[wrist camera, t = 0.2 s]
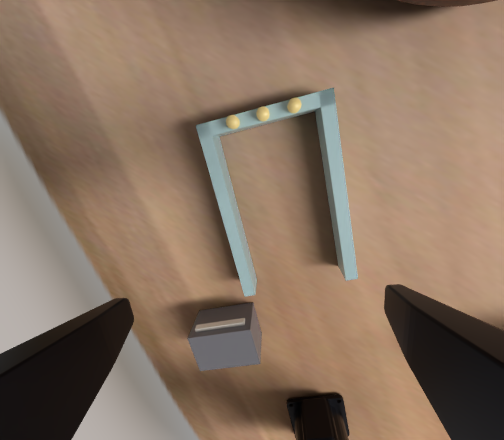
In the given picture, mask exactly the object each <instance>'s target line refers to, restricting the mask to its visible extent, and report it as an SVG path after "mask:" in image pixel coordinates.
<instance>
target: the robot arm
mask: <svg viewBox="0 0 504 440" xmlns="http://www.w3.org/2000/svg"><path fill="white" fill-rule="evenodd" d="M384 310H385V314H386V316H387V318H388V321H389V323H390V325H391V327H392V330H393V332H394V334H395V336H396V339H397V341H398V343H399V346H400V348H401V350H402V352H403V354H404V357H405V359H406V361H407V363H408V364H409V366H410V368H411V370H412V372H413V373H414V375H415V377H416V379H417V380H418V382H419V384H420V386H421V387H422V389H423V391H424V393H425V394H426V396H427V398H428V400H429V401H430V403H431V405H432V407H433V408H434V410H435V412H436V414H437V415H438V417H439V419H440V421H441V423H442V424H443V426H444V428H445V430H446V431H447V433H448V435H449V437H450V438H451V440H504V331H503V330H501V329H499V328H496V327H494V326H492V325H490V324H488V323H485V322H483V321H481V320H479V319H476V318H474V317H472V316H470V315H467V314H465V313H463V312H461V311H458V310H456V309H454V308H452V307H450V306H447V305H445V304H443V303H441V302H438V301H436V300H434V299H432V298H429V297H427V296H425V295H423V294H421V293H418V292H416V291H414V290H412V289H409V288H407V287H405V286H403V285H400V284H396V285H387V286H386V288H385V301H384ZM133 322H134V315H133V312H132V309H131V305H130V302H129V300H128V299H127V298H116V299H113V300H111V301H109V302H107V303H105V304H103V305H101V306H99V307H96V308H94V309H92V310H90V311H88V312H86V313H84V314H82V315H80V316H78V317H76V318H74V319H72V320H70V321H67V322H65V323H63V324H61V325H59V326H57V327H55V328H53V329H51V330H49V331H47V332H45V333H43V334H40V335H39V336H36V337H34V338H32V339H30V340H28V341H26V342H24V343H22V344H20V345H18V346H16V347H14V348H11V349H9V350H7V351H5V352H3V353H1V354H0V440H71V439H72V438H73V436H74V434H75V432H76V431H77V429H78V427H79V425H80V424H81V422H82V420H83V418H84V417H85V415H86V413H87V411H88V410H89V408H90V406H91V404H92V403H93V401H94V399H95V397H96V396H97V394H98V392H99V390H100V389H101V387H102V385H103V383H104V381H105V380H106V378H107V376H108V374H109V372H110V371H111V369H112V367H113V365H114V363H115V361H116V359H117V357H118V355H119V353H120V351H121V349H122V347H123V344H124V342H125V340H126V338H127V336H128V333H129V331H130V329H131V327H132V325H133ZM287 408H288V411H289V415H290V419H291V423H292V426H293V430H294V434H295V438H296V440H349V439H348V436H349V429H348V423H347V418H346V412H345V406H344V401H343V397H342V396H341V395H328V396H317V397H305V398H294V399H288V400H287Z"/></svg>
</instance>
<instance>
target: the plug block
mask: <svg viewBox="0 0 504 440" xmlns="http://www.w3.org/2000/svg"><path fill="white" fill-rule="evenodd" d="M261 338H262V332H261V329H260V325H259V321H258V318H257V314H256V311H255V307H254V303H246V304H239V305H233V306H226V307H220V308H213V309H207V310H200V311H199V313H198V315H197V317H196V320H195V322H194V324H193V327H192V329H191V331H190V334H189V336H188V338H187V339H188V341H189V344H190V346H191V349H192V351H193V354H194V357H195V359H196V362H197V364H198V367H199V369H200V371H205V370H213V369H222V368H230V367H238V366H247V365H255V364H260V359H261Z"/></svg>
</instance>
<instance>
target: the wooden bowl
mask: <svg viewBox="0 0 504 440" xmlns="http://www.w3.org/2000/svg"><path fill="white" fill-rule="evenodd" d="M398 1H401V2H406V3H411V4H415V5H426V6H441V7H445V6H466V5H473V4H480V3H486V2H491V1H496V0H398Z"/></svg>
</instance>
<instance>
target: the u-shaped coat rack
mask: <svg viewBox="0 0 504 440" xmlns="http://www.w3.org/2000/svg"><path fill="white" fill-rule="evenodd" d="M312 112H315V115H316V122H317V128H318V135H319V142H320V148H321V155H322V161H323V168H324V175H325V181H326V188H327V194H328V201H329V208H330V214H331V221H332V228H333V234H334V241H335V247H336V254H337V261H338V267H339V269H340V270H341V272H342V274H343V276H344V278H345V280H346V281H347V280H353V279H358V275H357V267H356V259H355V251H354V244H353V236H352V228H351V220H350V212H349V204H348V196H347V189H346V181H345V173H344V165H343V157H342V149H341V142H340V134H339V126H338V118H337V110H336V102H335V94H334V88H330V89H327V90H323V91H319V92H316V93H312V94H308V95H305V96H301V97H297V98H292V99H290V100H286V101H283V102H279V103H275V104H272V105H268V106H265V107H264V106H262V107H260V108H257V109H254V110H250V111H246V112H243V113H239V114H235V115H229V116H228V117H224V118H221V119H217V120H213V121H210V122H206V123H202V124H199V125H196V128H197V132H198V135H199V139H200V142H201V146H202V149H203V153H204V156H205V160H206V163H207V167H208V170H209V174H210V177H211V181H212V184H213V188H214V191H215V195H216V198H217V202H218V205H219V209H220V212H221V216H222V219H223V222H224V226H225V229H226V233H227V236H228V240H229V243H230V247H231V250H232V254H233V257H234V261H235V264H236V268H237V271H238V275H239V278H240V282H241V285H242V289H243V292H244V296H251V295H255V293H256V285H257V278H256V274H255V270H254V267H253V263H252V259H251V255H250V251H249V248H248V244H247V240H246V236H245V232H244V229H243V225H242V221H241V217H240V213H239V210H238V206H237V202H236V198H235V194H234V191H233V187H232V183H231V179H230V175H229V172H228V168H227V164H226V160H225V156H224V153H223V149H222V145H221V141H220V136H224V135H228V134H232V133H235V132H239V131H243V130H247V129H251V128H254V127H258V126H262V125H266V124H270V123H273V122H277V121H281V120H285V119H289V118H292V117H296V116H300V115H304V114H308V113H312Z"/></svg>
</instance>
